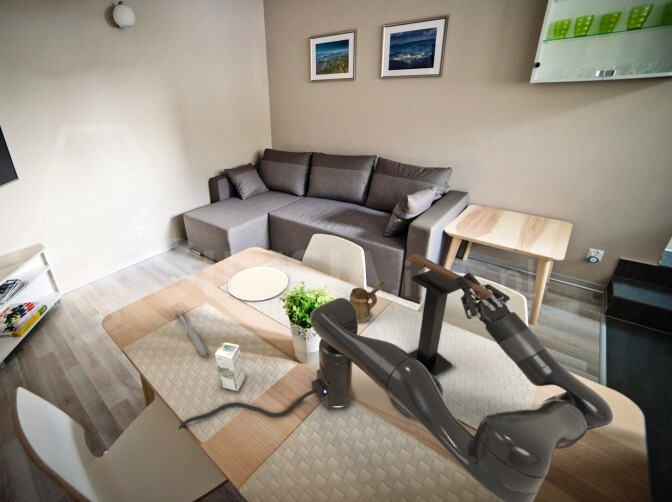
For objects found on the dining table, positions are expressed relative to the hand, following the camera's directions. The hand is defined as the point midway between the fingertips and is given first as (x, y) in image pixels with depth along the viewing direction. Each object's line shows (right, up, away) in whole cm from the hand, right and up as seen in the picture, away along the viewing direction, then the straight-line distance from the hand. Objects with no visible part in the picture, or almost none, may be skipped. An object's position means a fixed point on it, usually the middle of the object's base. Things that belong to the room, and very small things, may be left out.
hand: (462, 276), depth 85 cm
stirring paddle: (-2, 0, +5) cm, 5 cm away
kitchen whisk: (-81, -28, +43) cm, 96 cm away
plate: (-56, -13, +71) cm, 91 cm away
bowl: (-8, -37, +9) cm, 39 cm away
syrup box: (-62, -37, +20) cm, 75 cm away
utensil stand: (0, -31, +21) cm, 37 cm away
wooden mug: (-13, -22, +44) cm, 51 cm away
